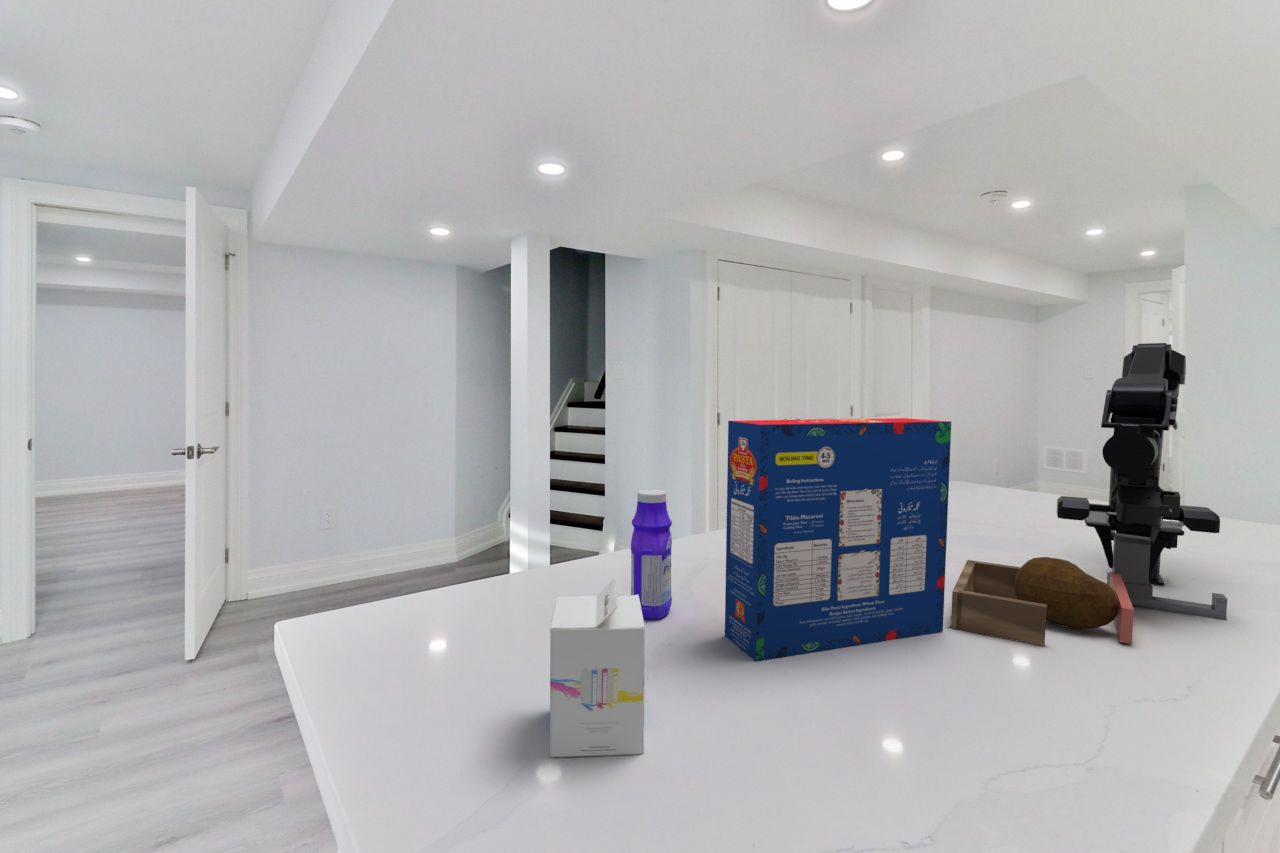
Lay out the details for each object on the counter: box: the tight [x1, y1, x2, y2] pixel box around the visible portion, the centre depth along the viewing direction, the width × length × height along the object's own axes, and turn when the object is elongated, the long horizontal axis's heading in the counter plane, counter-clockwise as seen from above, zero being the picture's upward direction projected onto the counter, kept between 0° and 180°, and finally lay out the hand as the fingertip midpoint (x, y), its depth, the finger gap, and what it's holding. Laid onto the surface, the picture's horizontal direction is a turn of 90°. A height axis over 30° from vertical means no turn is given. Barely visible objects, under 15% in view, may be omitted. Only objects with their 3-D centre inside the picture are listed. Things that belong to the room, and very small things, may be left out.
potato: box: [1014, 556, 1119, 631], centre depth 86 cm, size 8×12×9 cm
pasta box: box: [724, 417, 952, 663], centre depth 81 cm, size 28×8×28 cm, turn 109°
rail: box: [1129, 592, 1228, 621], centre depth 95 cm, size 2×22×3 cm, turn 57°
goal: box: [950, 559, 1047, 647], centre depth 89 cm, size 18×11×5 cm, turn 147°
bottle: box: [630, 488, 673, 620], centre depth 88 cm, size 7×6×17 cm
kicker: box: [1106, 536, 1154, 645], centre depth 87 cm, size 22×5×9 cm, turn 147°
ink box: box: [549, 579, 646, 758], centre depth 58 cm, size 9×8×13 cm
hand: (1129, 569), depth 94 cm, fingers open, 4 cm apart
